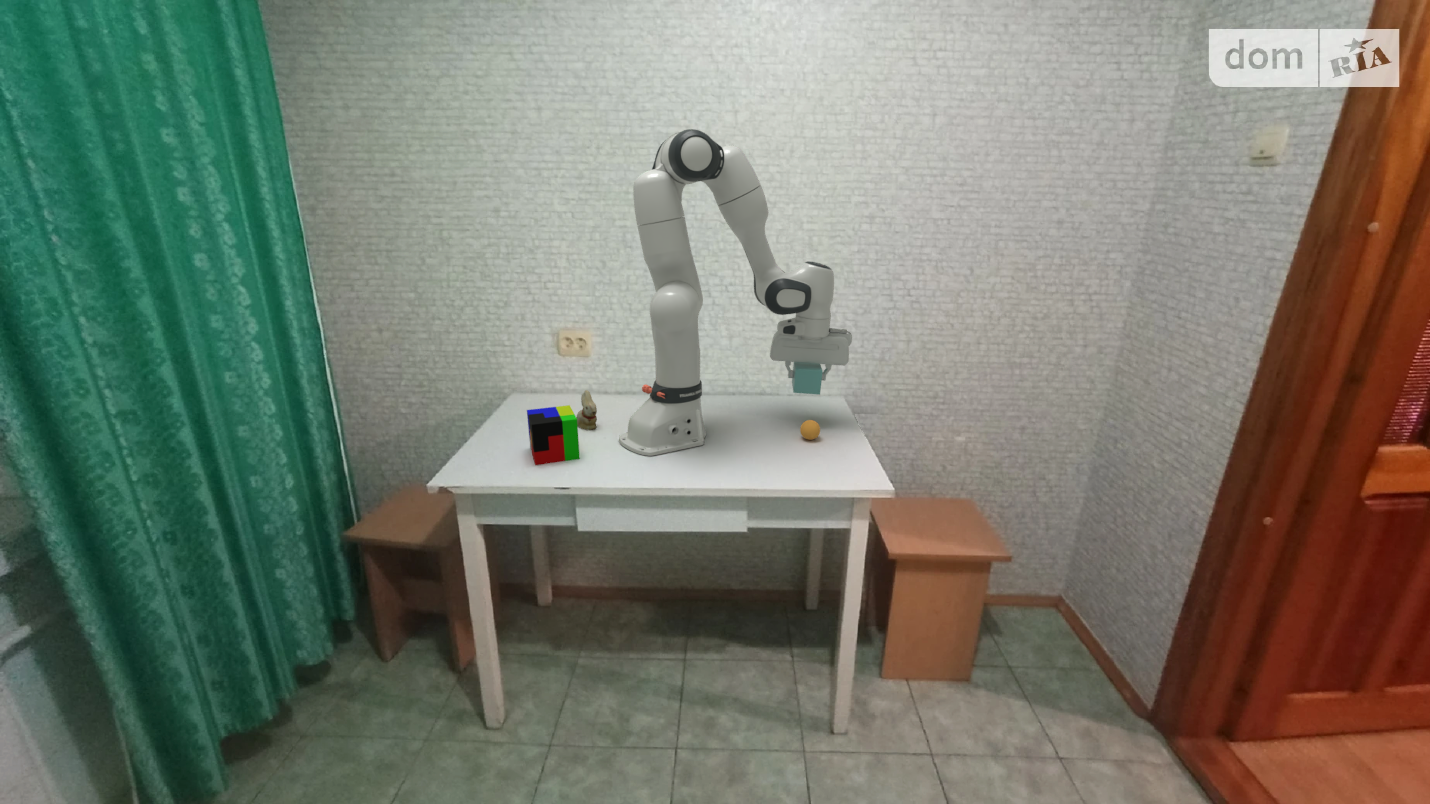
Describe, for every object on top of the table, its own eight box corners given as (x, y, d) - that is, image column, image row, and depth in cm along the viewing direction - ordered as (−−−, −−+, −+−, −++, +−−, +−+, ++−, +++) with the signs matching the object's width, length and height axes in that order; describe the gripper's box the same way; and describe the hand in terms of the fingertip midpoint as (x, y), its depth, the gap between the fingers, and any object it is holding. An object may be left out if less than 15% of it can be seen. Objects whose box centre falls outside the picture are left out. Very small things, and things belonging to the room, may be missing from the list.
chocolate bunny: (576, 431, 162) (573, 395, 159) (576, 421, 169) (574, 385, 166) (597, 430, 163) (595, 394, 160) (597, 419, 170) (595, 384, 167)
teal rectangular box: (820, 394, 161) (822, 371, 159) (793, 392, 162) (795, 369, 160) (816, 383, 171) (819, 361, 169) (791, 381, 171) (794, 359, 170)
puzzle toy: (530, 448, 152) (526, 410, 149) (572, 443, 155) (569, 405, 152) (535, 465, 143) (531, 424, 140) (579, 459, 147) (577, 419, 143)
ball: (809, 413, 160) (808, 428, 163) (796, 422, 157) (795, 436, 160) (825, 422, 157) (823, 437, 160) (812, 431, 154) (810, 446, 158)
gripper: (851, 327, 163) (845, 378, 168) (772, 321, 164) (768, 372, 169) (854, 332, 157) (847, 385, 162) (772, 326, 158) (768, 379, 163)
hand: (806, 378), depth 165 cm, fingers closed on teal rectangular box, 7 cm apart
